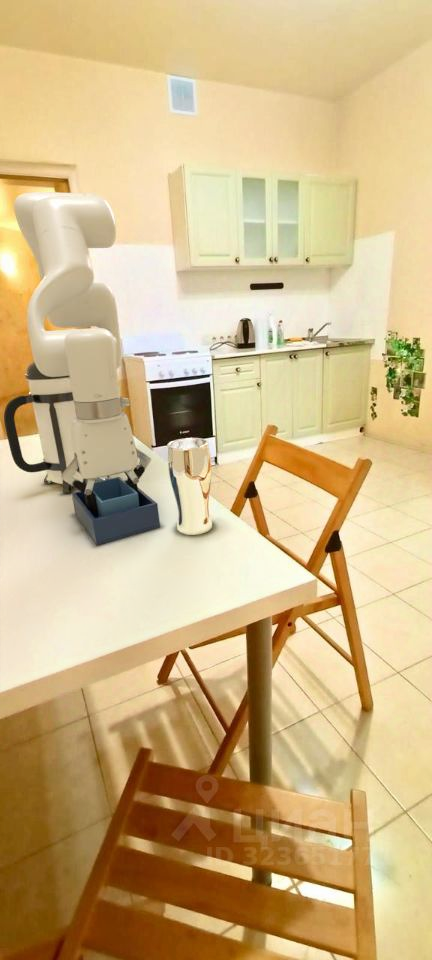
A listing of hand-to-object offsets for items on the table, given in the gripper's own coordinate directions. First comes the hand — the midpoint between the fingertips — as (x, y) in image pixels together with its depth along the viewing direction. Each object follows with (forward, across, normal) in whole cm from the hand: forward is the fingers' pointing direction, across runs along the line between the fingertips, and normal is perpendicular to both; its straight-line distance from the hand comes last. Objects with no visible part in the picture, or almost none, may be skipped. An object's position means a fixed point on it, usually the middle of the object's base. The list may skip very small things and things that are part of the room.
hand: (113, 506), depth 81 cm
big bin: (+3, 0, 0) cm, 3 cm away
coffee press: (+3, +2, -25) cm, 25 cm away
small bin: (+1, 0, 0) cm, 1 cm away
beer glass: (+3, -10, +11) cm, 16 cm away
